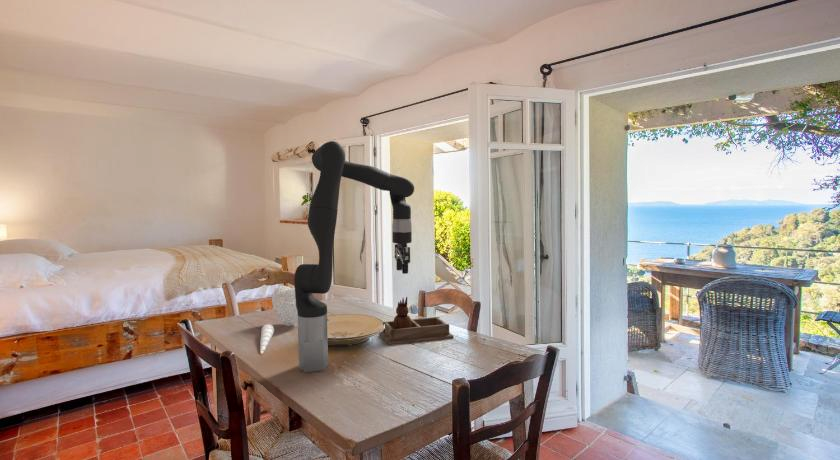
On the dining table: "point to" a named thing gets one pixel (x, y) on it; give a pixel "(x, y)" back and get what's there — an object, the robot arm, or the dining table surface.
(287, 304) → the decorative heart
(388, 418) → the dining table surface
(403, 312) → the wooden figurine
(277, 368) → the dining table surface
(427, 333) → the brown divided wooden tray
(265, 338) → the unicorn horn
